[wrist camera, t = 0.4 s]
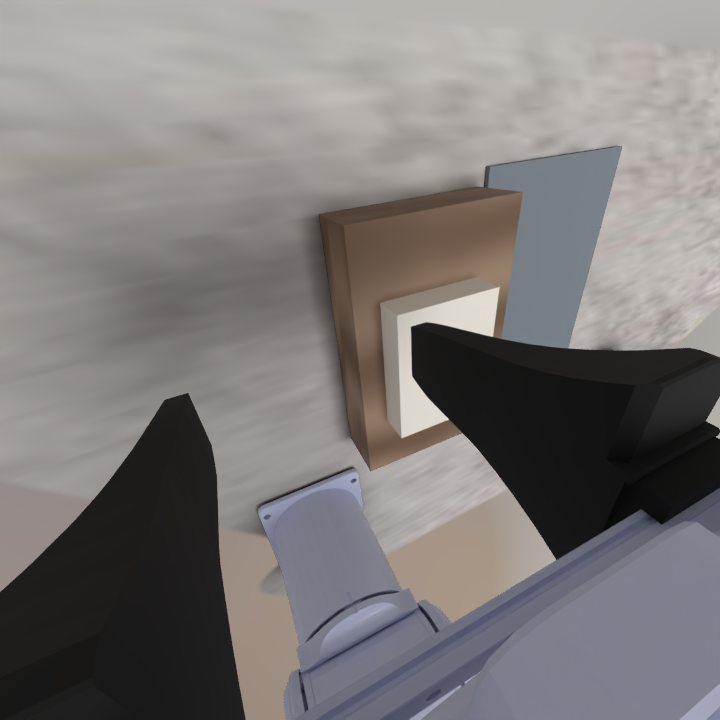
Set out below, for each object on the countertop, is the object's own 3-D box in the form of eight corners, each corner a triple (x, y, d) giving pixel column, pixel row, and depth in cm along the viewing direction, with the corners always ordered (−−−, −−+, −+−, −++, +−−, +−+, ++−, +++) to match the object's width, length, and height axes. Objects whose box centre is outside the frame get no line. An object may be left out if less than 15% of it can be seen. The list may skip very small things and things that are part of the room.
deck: (460, 396, 29) (489, 421, 27) (351, 438, 27) (370, 471, 24) (478, 186, 21) (523, 191, 18) (318, 214, 18) (343, 225, 15)
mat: (559, 366, 33) (562, 368, 33) (464, 403, 30) (466, 405, 30) (618, 146, 24) (622, 146, 23) (486, 166, 20) (490, 166, 20)
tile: (466, 390, 24) (483, 405, 22) (387, 420, 22) (401, 438, 21) (476, 277, 20) (499, 286, 18) (380, 302, 18) (397, 315, 16)
